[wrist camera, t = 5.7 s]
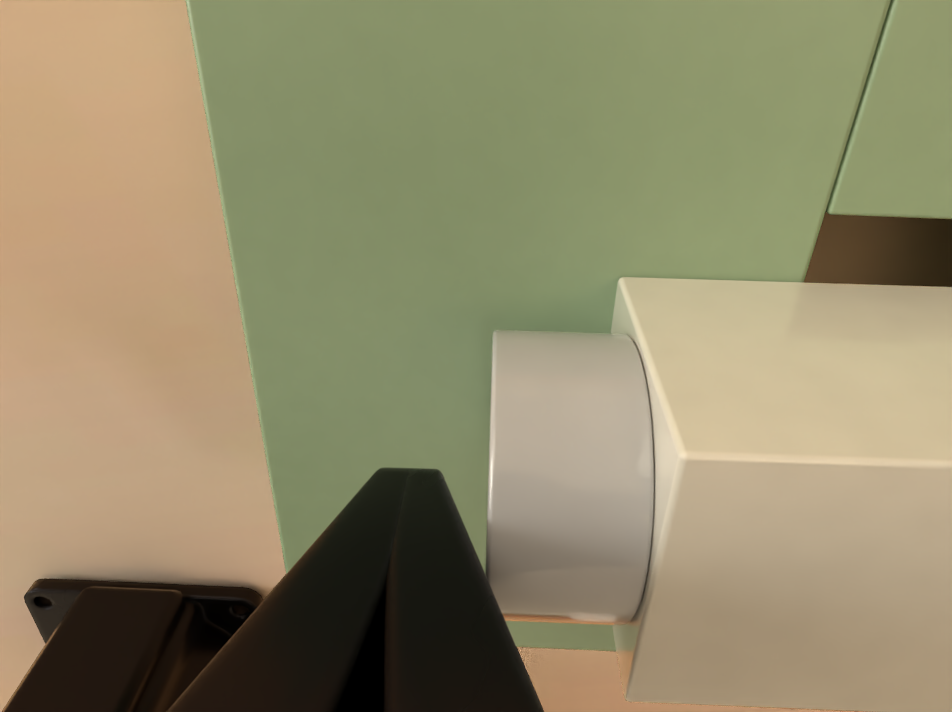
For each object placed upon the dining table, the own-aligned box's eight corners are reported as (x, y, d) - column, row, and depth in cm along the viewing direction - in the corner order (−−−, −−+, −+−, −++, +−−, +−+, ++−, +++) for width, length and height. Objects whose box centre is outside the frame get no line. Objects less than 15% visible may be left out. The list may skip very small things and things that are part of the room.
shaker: (1024, 286, 9) (1315, 477, 6) (922, 496, 11) (1096, 724, 7) (493, 271, 9) (490, 447, 6) (486, 480, 11) (480, 698, 8)
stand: (970, 506, 16) (1112, 676, 13) (342, 479, 17) (295, 639, 13) (1295, -77, 10) (1771, -88, 6) (283, -108, 10) (157, -136, 7)
